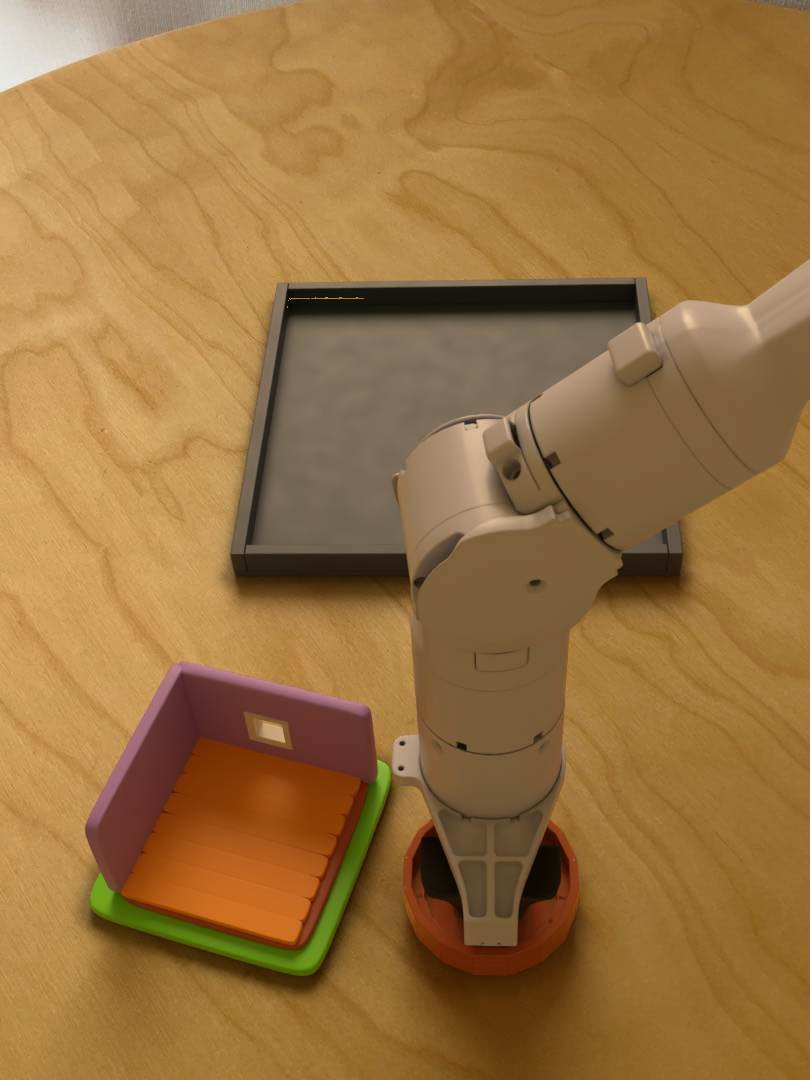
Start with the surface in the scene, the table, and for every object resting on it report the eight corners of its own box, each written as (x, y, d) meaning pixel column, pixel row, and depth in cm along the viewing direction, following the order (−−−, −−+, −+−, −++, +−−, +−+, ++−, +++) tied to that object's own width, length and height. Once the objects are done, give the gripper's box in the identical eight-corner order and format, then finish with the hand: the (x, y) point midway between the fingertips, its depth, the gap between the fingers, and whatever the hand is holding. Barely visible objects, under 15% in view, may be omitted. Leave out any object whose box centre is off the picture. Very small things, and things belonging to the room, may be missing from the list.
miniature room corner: (186, 715, 71) (162, 635, 66) (399, 769, 68) (392, 689, 63) (81, 915, 64) (46, 842, 58) (317, 985, 61) (301, 914, 56)
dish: (572, 825, 66) (574, 798, 64) (579, 982, 60) (582, 957, 58) (409, 823, 66) (406, 796, 64) (402, 978, 61) (399, 954, 59)
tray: (644, 299, 93) (646, 276, 92) (680, 576, 76) (683, 553, 75) (280, 304, 95) (277, 282, 94) (234, 576, 78) (229, 554, 76)
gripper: (394, 551, 56) (409, 735, 66) (374, 862, 46) (395, 1022, 56) (563, 550, 56) (552, 736, 66) (579, 864, 46) (564, 1026, 56)
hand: (490, 868), depth 61 cm, fingers open, 5 cm apart
